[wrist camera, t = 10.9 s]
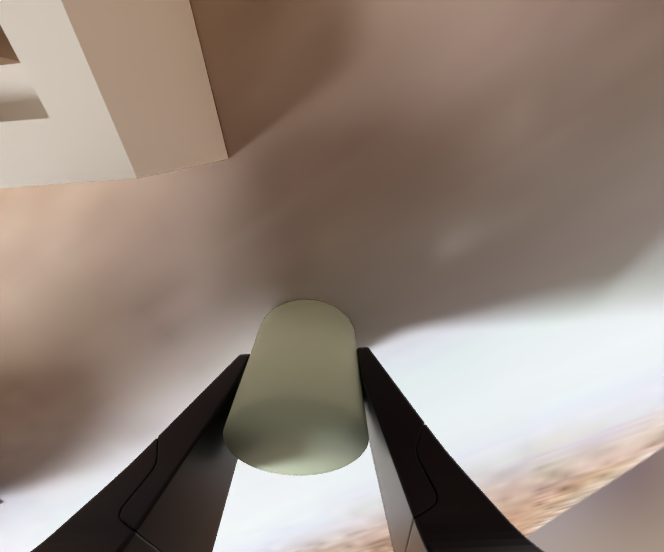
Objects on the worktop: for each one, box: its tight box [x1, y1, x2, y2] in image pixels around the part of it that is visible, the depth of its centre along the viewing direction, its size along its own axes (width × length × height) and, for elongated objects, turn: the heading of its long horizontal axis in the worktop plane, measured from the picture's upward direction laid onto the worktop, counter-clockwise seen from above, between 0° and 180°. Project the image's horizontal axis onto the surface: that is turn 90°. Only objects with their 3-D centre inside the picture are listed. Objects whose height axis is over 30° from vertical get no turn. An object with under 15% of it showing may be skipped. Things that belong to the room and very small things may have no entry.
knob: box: [223, 300, 369, 475], centre depth 9 cm, size 4×4×4 cm
